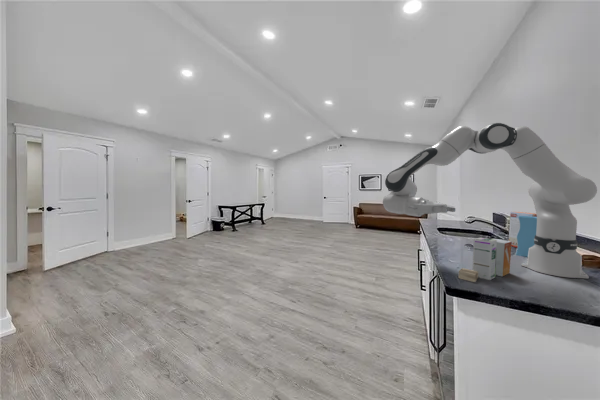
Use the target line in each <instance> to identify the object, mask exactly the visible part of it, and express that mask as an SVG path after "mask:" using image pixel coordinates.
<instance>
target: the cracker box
mask: <svg viewBox="0 0 600 400" xmlns="http://www.w3.org/2000/svg"><path fill="white" fill-rule="evenodd" d="M509 215H510V216H509V230H508V231H509V232H508V241H512V245H511V247H513V248H516V249H517V248H518V242H517V234H518V232H519V230H520V221H519V216H531V217H537V214H536V212H535V213H534V212H525V211H510V214H509Z"/></svg>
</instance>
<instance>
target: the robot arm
mask: <svg viewBox="0 0 600 400" xmlns="http://www.w3.org/2000/svg"><path fill="white" fill-rule="evenodd" d="M500 149H501V150H503V151H505V152H506V153H507V154H508V155H509V157H510V158H511V160H513V162H514V163H515V164H516V166H517V167H518V168H519V170H520V171H521V172H522V174H523V175H525V177H526V176H527V177H528V178H530V179H531V180H533V181H534V182H532V183H530V185H529V187H528V189H527V190H528V195H529V196H530V198H531V199H532V201H533V204H534V209H535V214H537V229H536V235H535V238H534V244H535V245H534V246H532V247H530V248H529V251H528V257H527V261H525V262H522V263H521V266H522V267H525V268H528V269H529V270H532V271H535V272H537V273H541V274H545V275H551V276H555V277H561V278H572V279H573V278H575V279H576V278H577V279H589V277H590V276H589V275H588V274H587V273H586V272H585V271H584V270H582V268H583V265H582V263H583V262H582V261H583V260H582V259H583V255H581V254H580V253H579V252H578V251H577V249H578V245H579V244H578V240H577V228H578V220H577V218H576V217H575V216H574V215H573V213H572V211H571V207H570V205H574V206H575V205H578V204H584V203H587V202H589V201H591V200H593V198H595V197H596V194H597V193H598V187H597V184H596V183H595V182H594V181H593V180H592V179H589V178H587V177H584V176H582V175H581V174H578V172H576V171H574V170H573V169H572V168H570V167H569V166H567V165H566V164H565V163H564V162H563V161H561V160H560V159H559V158H558V157H557V156H556V155H555V154H554V152H553V151H552V150H551V149H550V147H548V145H547V144H546V143H545V142H544V140H543V139H542V138H541V137H540V136H539V135H538V134H537V133H536V132H535V131H534V130H532V129H531V128H529V127H527V126H525V125H522V126H521V125H520V126H516V127H512V126H509V125H507V124H505V123H501V122H495V123H490V124H488V125H486V126H484V127H482V128H480V129H478V130H473V129H472V128H471V127H469V126H466V125H459V126H457V127H456V128H454V129H453V130H451V131H450V132H448V133H447V134H446V135H444V136H443V137H442V138H441V139H440V140H439V141H437V143H435V144H433V145H432V146H428V147H426V148H424V149H423V150H421V151H419V152H418V153H417V154H415V155H414V156H413V157H412V158H410V159H409V160H407V162H405V163H403V164H402V165H401V166H399V167H398V168H396V169H394V170H392V171H390V172H389V173H388V174H387V175H386V178H385V179H384V184H385V187H386V188H387V189H388V190H389V191H391V192H389V194H387V195H385V196H384V197H383V200H382V205H383V208H384V209H385V211H387V212H388V213H391V214H396V215H407V216H412V217H419V218H420V217H422V216H424V215H425V214H426V215H431V214H439V213H440V214H447V213H448V212H452V213H454V212H456V209H457V208H456V207H453V206H451V207H450V206H448V205H447V204H445V203H441V202H435V201H429V199H425V198H423V197H420V196H416V194H417V192H418V188H417V184H415V183H414V181H413V180H412V179H410V178H411V177H412V175H414V174H415V173H417V172H418V171H419V170H421V169H422V168H423V167H425V166H428V165H435V166H441V167H442V166H443V167H445V166H449V165H450V164H452V163H453V162H455V161H456V160H457V159H458V158H460V157H461V156H462V155H463V154H464V153H465V152H466V151H468V150H470V151H471V152H474V153H477V154H487V153H488V154H489V153H491V152H493V153H494V152H496V151H497V150H500Z"/></svg>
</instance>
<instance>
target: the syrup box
mask: <svg viewBox="0 0 600 400" xmlns="http://www.w3.org/2000/svg"><path fill="white" fill-rule="evenodd" d="M494 239H495V238H489V237H488V238H487V237H478V238H474V239H473V251H472V270H474V271H478V279H482V280H486V281H492V280H493V279H495V278H496V275H495V274H496V248H497V240H494Z"/></svg>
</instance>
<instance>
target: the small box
mask: <svg viewBox="0 0 600 400" xmlns="http://www.w3.org/2000/svg"><path fill="white" fill-rule="evenodd" d="M493 239H494V240H497V248H496V274H495V276H498V277H505V276H506V275H508V274H510V271H511V256H512V246H511V245H512V241H509V240H504V239H498V238H493Z"/></svg>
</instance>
